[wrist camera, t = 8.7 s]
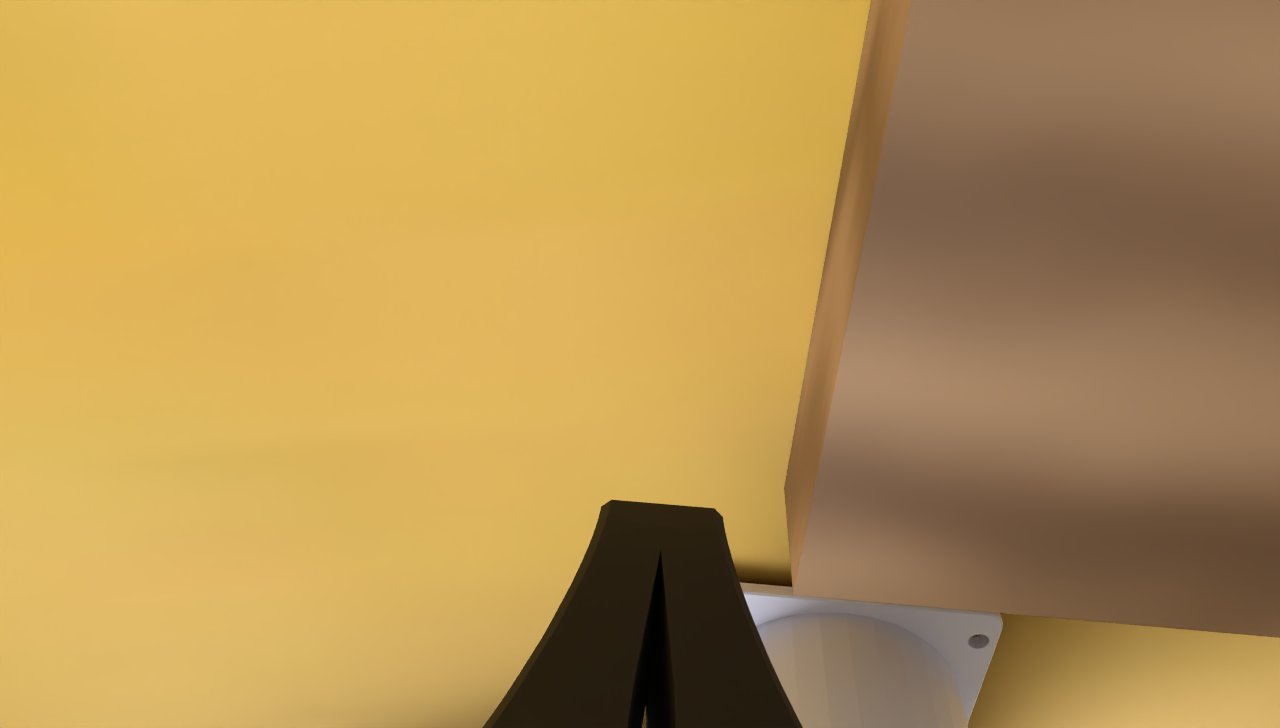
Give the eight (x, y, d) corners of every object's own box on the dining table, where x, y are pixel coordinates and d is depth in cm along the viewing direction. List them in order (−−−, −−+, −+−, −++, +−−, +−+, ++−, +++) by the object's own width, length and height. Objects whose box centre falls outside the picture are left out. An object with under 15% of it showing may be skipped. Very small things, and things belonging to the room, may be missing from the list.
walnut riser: (1286, 531, 25) (1361, 644, 22) (784, 488, 25) (793, 594, 22) (1788, -399, 15) (2046, -418, 12) (952, -459, 15) (1008, -489, 12)
